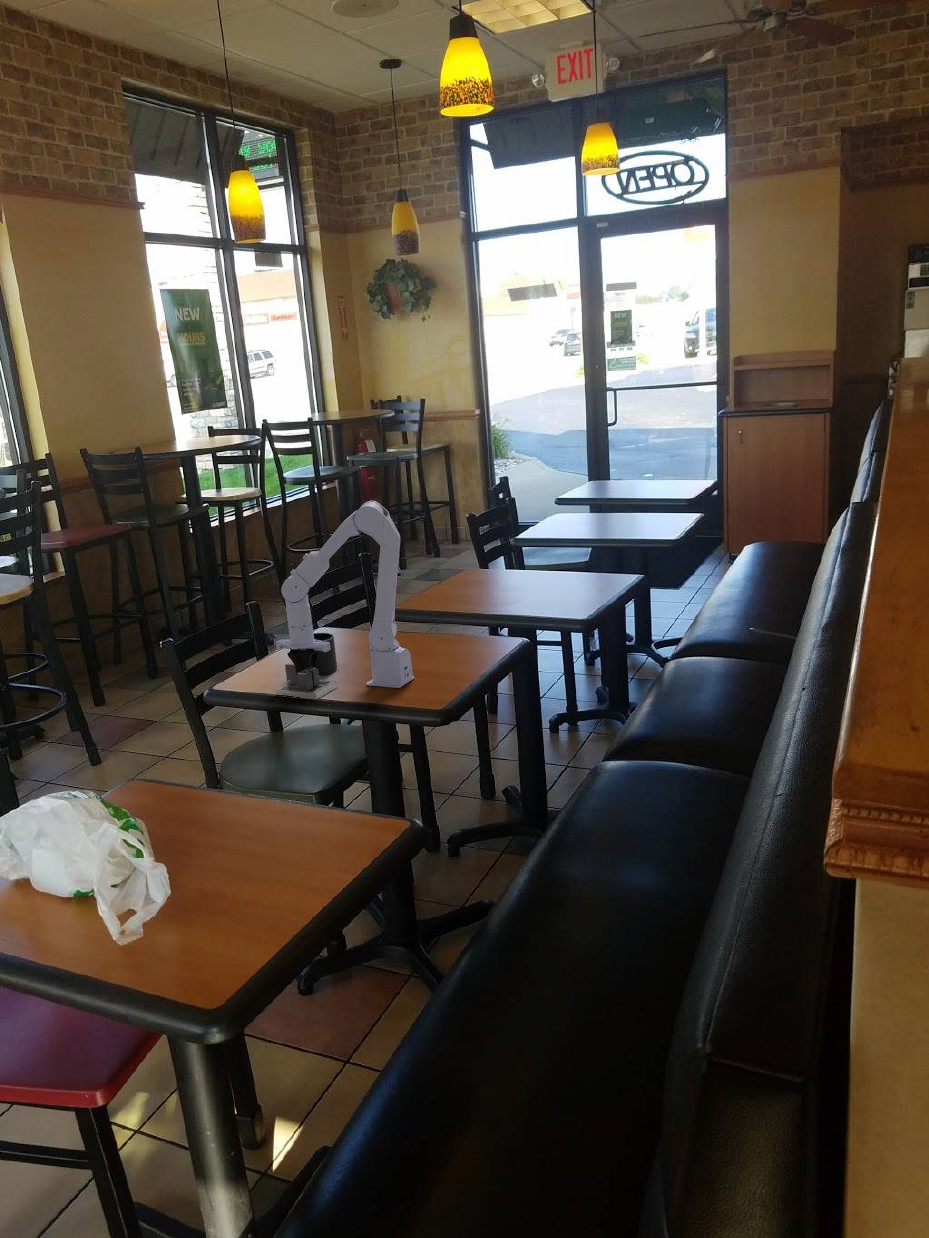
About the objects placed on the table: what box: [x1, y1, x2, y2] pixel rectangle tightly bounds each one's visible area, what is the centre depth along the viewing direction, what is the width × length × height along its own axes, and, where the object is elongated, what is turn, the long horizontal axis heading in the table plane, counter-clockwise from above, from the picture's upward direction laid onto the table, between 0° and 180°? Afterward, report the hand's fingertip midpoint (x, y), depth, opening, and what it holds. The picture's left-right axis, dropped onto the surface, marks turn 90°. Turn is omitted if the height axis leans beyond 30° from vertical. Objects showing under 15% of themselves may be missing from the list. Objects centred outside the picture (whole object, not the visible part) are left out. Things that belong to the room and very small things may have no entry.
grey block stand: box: [274, 667, 338, 700], centre depth 232 cm, size 12×9×6 cm
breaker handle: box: [284, 661, 298, 682], centre depth 237 cm, size 3×2×4 cm
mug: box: [313, 632, 338, 677], centre depth 249 cm, size 9×12×9 cm
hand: (307, 677), depth 235 cm, fingers closed
